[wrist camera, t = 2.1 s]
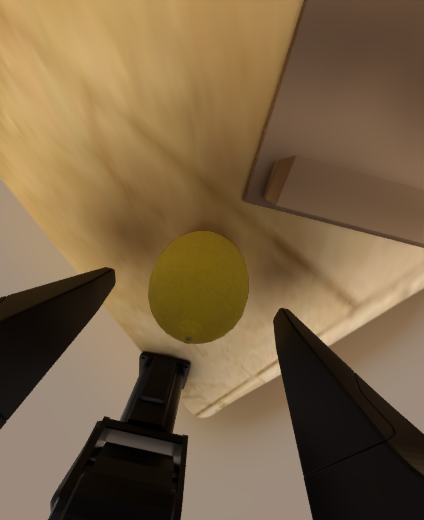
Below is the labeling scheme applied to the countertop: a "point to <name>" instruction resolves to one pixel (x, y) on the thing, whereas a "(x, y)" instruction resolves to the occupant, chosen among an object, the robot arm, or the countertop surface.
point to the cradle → (349, 120)
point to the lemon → (199, 287)
